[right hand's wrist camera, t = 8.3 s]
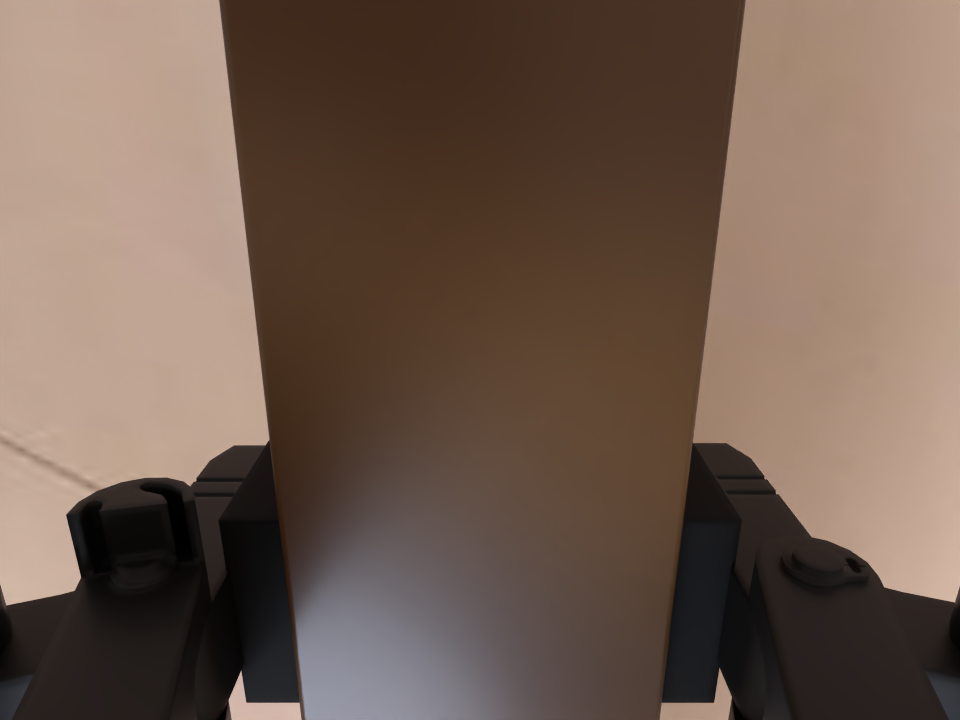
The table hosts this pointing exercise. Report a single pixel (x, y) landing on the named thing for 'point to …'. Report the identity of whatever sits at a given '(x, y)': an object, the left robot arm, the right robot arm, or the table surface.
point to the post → (481, 337)
